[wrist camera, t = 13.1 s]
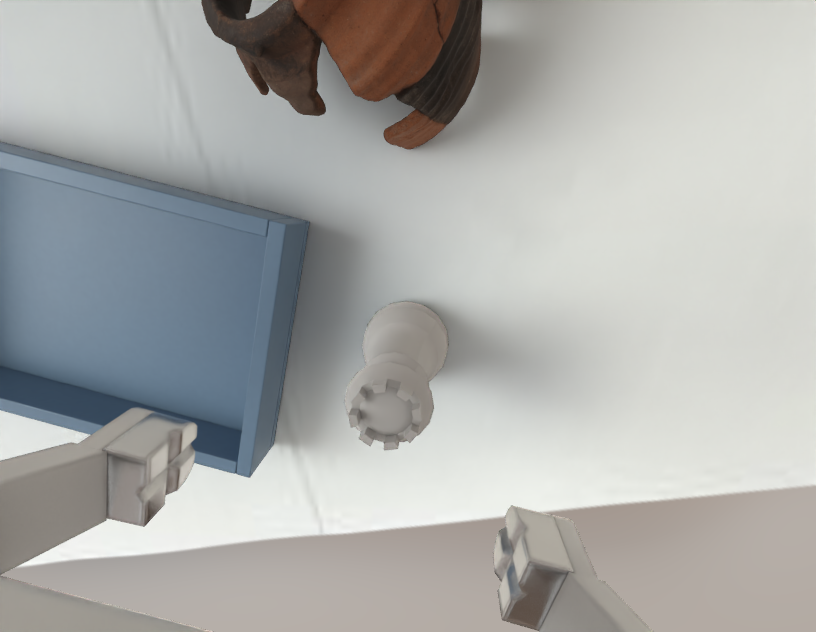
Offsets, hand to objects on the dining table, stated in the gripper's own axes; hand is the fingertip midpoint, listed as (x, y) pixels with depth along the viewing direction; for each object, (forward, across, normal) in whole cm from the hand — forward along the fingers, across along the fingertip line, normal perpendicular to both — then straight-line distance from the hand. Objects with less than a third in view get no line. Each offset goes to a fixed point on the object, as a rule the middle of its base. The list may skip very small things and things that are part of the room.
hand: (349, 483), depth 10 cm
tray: (+12, +15, +2) cm, 19 cm away
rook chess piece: (+12, -1, 0) cm, 12 cm away
